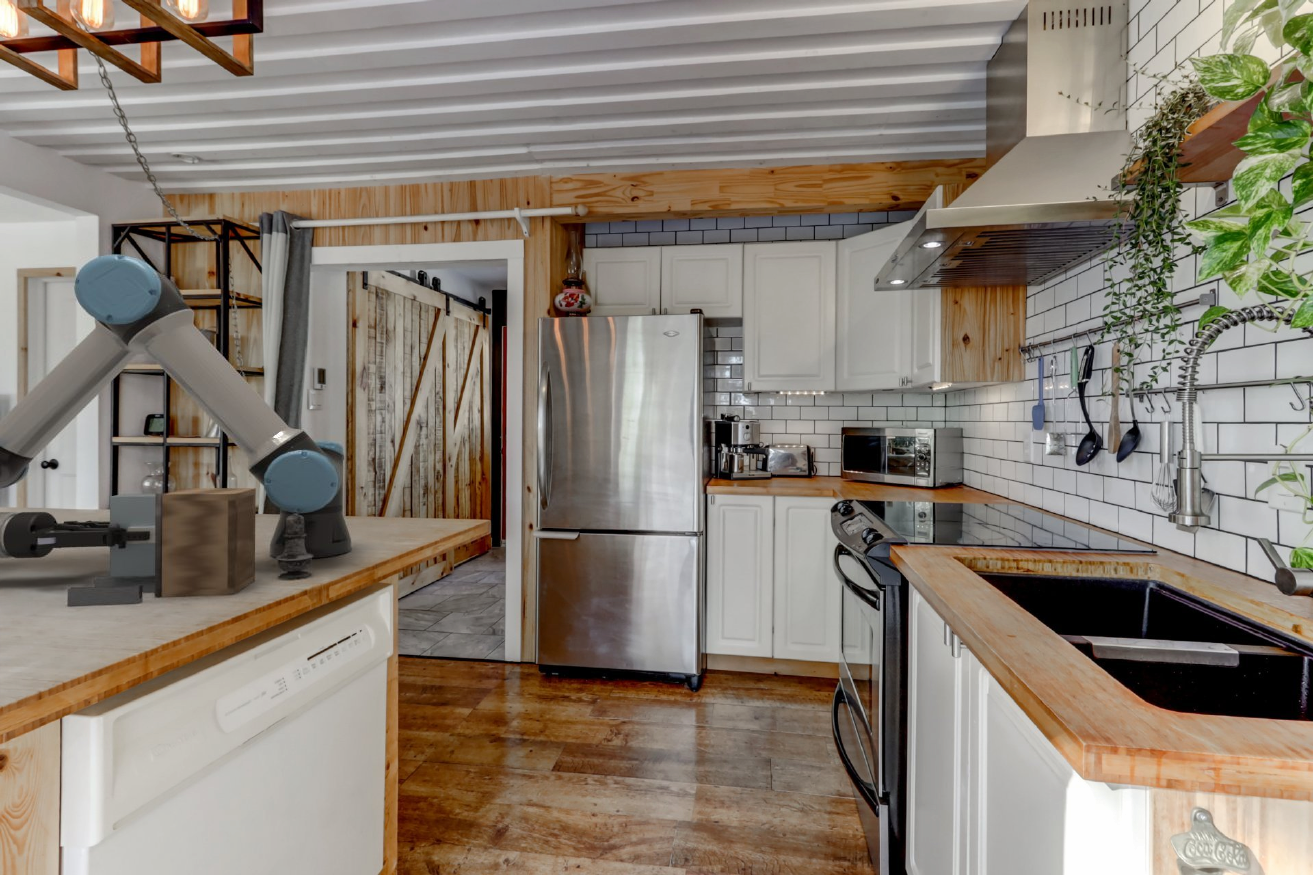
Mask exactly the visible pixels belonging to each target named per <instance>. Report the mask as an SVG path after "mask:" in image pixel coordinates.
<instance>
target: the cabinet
mask: <svg viewBox="0 0 1313 875" xmlns="http://www.w3.org/2000/svg"><path fill="white" fill-rule="evenodd" d="M256 491H257V490H256V487H253V488H252V487H249V488H248V487H232V488H231V487H229V488H228V487H226V488H225V487H224V488H223V487H219V488H218V487H214V488H213V487H212V488H209V487H206V488H203V487H199V488H197V487H196V488H194V487H190V488H184V489H180V490H175V491H171V492H166V493H154V494H155V592H154V597H155V598H171V597H172V598H174V597H175V598H176V597H199V596H200V597H201V596H202V597H203V596H226V595H227V596H229V595H230V594H231V595H235V593H236V594H237V593H238V591H239V592H240V591H242V590H243V589H245V588H247V586H249V585H250V584H253V583H254V582H255V581H256V572H255V571H256V501H257V500H256V499H257V498H256V495H257V492H256ZM241 589H242V590H241Z"/></svg>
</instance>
